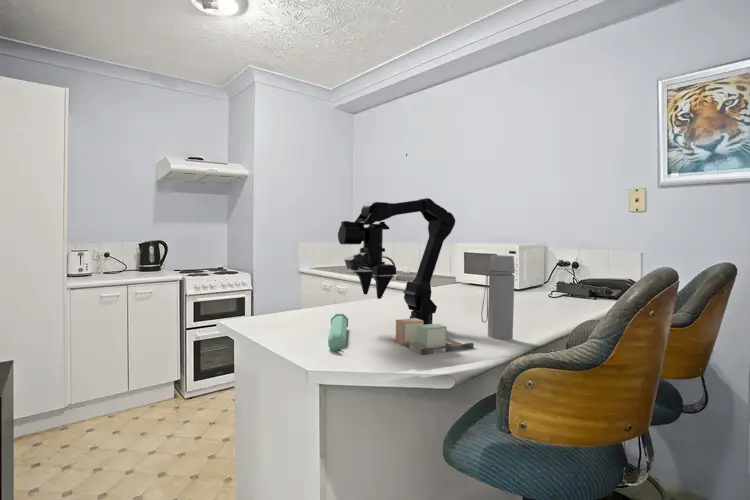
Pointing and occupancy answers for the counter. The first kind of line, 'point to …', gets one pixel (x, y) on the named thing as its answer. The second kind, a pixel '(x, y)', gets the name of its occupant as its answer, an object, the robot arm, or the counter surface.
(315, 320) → the counter surface
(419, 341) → the tea box
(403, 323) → the rust box
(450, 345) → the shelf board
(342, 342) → the container
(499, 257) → the water bottle
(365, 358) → the counter surface
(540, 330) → the counter surface
